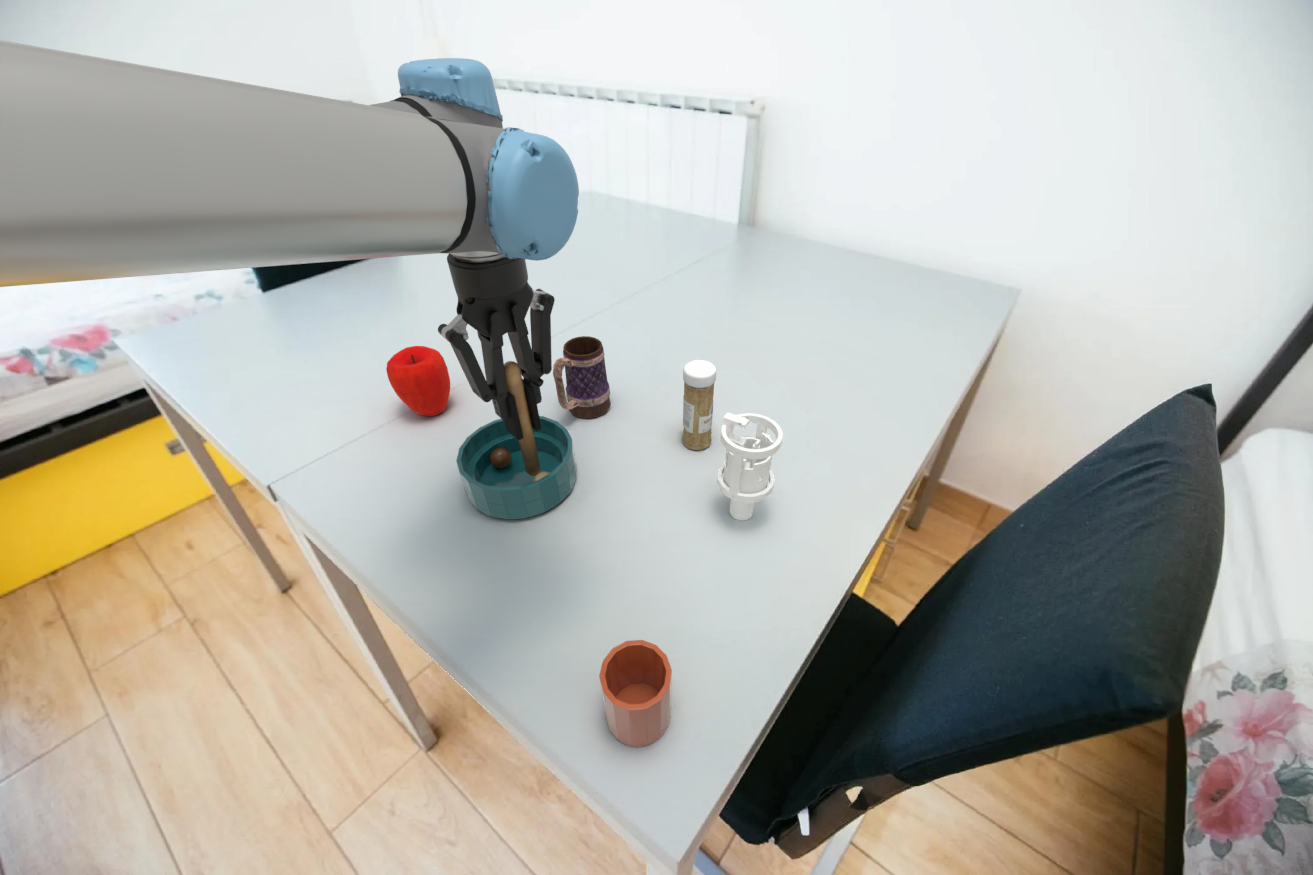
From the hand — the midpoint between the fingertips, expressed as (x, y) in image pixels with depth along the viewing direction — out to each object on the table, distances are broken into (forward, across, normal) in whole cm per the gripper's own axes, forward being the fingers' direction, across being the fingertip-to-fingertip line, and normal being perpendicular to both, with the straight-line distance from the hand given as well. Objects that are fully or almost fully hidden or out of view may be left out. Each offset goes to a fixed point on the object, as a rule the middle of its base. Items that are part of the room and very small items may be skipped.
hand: (524, 429), depth 69 cm
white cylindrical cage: (+10, +17, -23) cm, 30 cm away
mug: (+11, +15, +9) cm, 21 cm away
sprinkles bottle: (+11, +23, -9) cm, 27 cm away
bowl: (+10, -1, +2) cm, 11 cm away
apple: (+11, -3, +27) cm, 29 cm away
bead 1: (+8, -2, +6) cm, 10 cm away
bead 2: (+8, 0, -2) cm, 9 cm away
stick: (+8, 0, 0) cm, 8 cm away
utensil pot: (+10, -10, -33) cm, 36 cm away
